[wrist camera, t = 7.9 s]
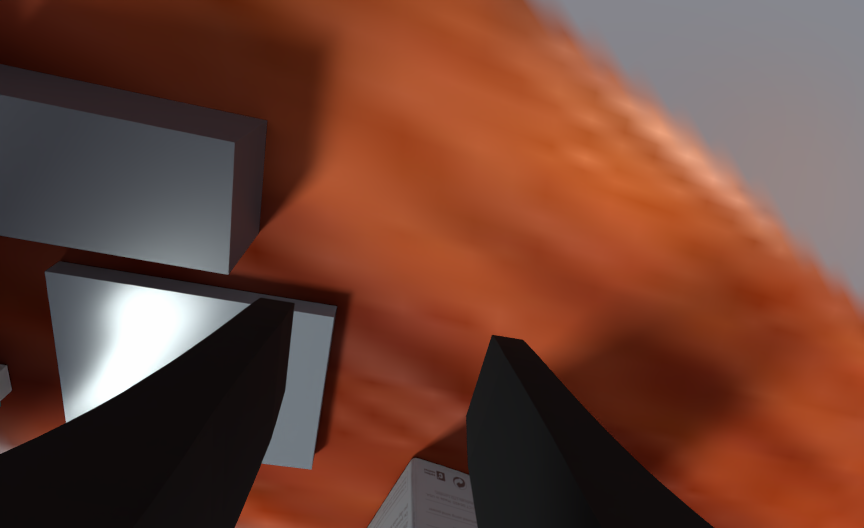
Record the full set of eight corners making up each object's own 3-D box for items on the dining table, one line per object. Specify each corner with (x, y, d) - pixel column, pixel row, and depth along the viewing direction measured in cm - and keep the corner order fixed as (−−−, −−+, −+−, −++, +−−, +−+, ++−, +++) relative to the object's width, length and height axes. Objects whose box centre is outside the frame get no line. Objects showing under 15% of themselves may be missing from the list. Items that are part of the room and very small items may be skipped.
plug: (260, 230, 18) (228, 274, 15) (21, 186, 17) (-68, 224, 14) (269, 119, 16) (234, 142, 13) (4, 62, 15) (-102, 73, 12)
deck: (314, 455, 23) (311, 469, 22) (80, 425, 21) (68, 439, 21) (337, 306, 19) (334, 317, 18) (59, 261, 18) (44, 271, 17)
